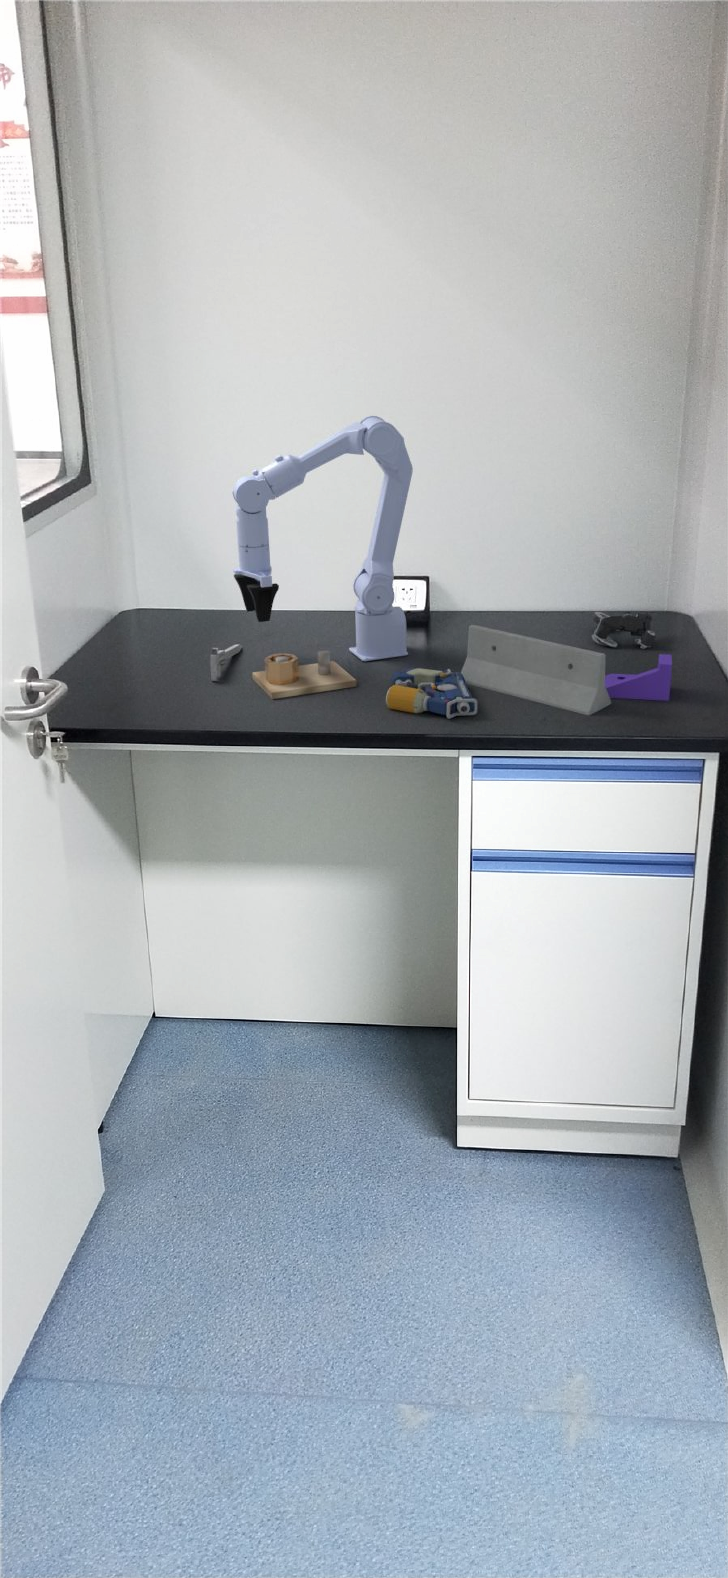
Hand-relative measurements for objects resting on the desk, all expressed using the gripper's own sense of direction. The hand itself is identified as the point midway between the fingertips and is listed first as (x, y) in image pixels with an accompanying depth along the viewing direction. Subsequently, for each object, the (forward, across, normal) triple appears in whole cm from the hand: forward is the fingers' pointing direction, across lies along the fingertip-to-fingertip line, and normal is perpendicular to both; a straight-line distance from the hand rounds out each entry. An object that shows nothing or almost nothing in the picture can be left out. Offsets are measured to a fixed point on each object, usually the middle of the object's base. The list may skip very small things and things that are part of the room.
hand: (257, 615), depth 222 cm
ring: (+8, +14, 0) cm, 16 cm away
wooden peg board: (+9, +14, +4) cm, 17 cm away
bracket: (+10, +43, +55) cm, 71 cm away
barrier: (+10, +36, +39) cm, 54 cm away
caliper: (+10, -2, -6) cm, 12 cm away
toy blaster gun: (+10, +32, +21) cm, 39 cm away
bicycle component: (+10, +16, +70) cm, 73 cm away
